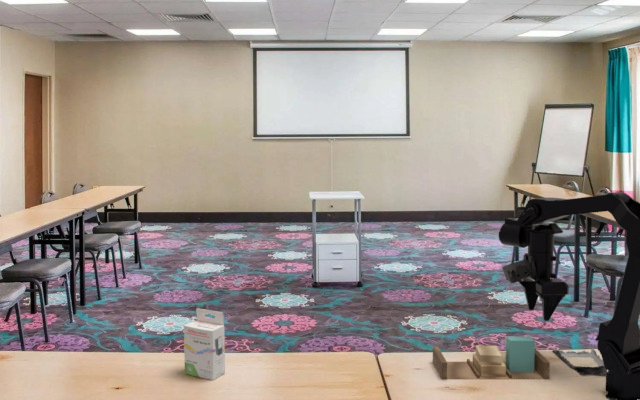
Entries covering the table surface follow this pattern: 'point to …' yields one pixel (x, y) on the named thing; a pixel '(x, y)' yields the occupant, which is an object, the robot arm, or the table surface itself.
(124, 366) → the table surface
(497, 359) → the offcut top
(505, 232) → the robot arm
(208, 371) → the ink box
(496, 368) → the offcut low
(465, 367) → the rack
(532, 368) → the teal rectangular block
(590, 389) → the table surface
